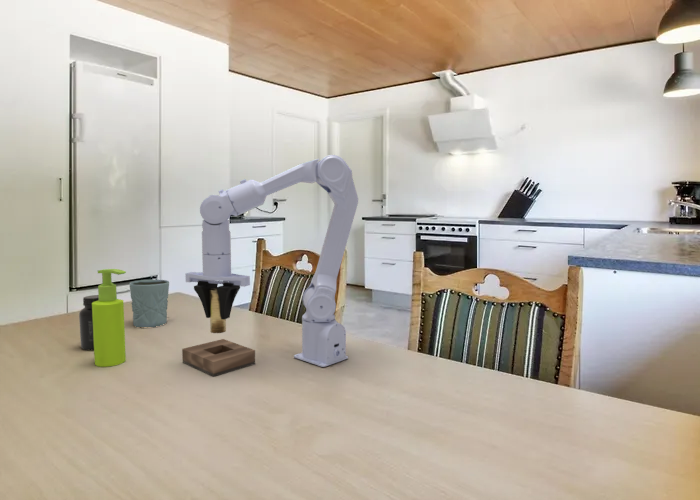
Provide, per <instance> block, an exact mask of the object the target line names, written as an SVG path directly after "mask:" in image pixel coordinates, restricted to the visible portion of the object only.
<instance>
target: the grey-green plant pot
mask: <svg viewBox="0 0 700 500" xmlns="http://www.w3.org/2000/svg"><path fill="white" fill-rule="evenodd" d="M169 288H170V281H169V280H166V279H141V280H135V281H131V282H129V291H130V292H129V293H130V299H131V309H132V310H131V311H132V322H133V327H134V326H136V327H135V328H137V327H153V328H157V327H156V326H159V327H161V326H160V325H162V326H164V325H163V324H165V323H166V324H167V322H168V321H167V320H168V312H167V311H168V303H169V300H168V298H169V291H170V290H169ZM166 324H165V325H166Z"/></svg>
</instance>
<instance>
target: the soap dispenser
mask: <svg viewBox="0 0 700 500" xmlns="http://www.w3.org/2000/svg"><path fill="white" fill-rule="evenodd" d="M126 273H127V271H125V270H123V269H118V268H104V269H100V270H97V274H101V276H102V283H100V284H99V285H98V286H97V289H98V290H97V293H98V294H97V295H98V296H99V300H98V301H95V302H93V303H92V316H93V337H94V350H93V353H94V356H93V360H94V365H95V366H96V367H98V368H99V367H101V368H104V367H105V368H106V367H113V366H118V365H121V364H123V363H125V362H126V360H127V359H126V358H127V357H126V355H127V354H126V334H125V330H126V329H125V308H124V307H125V306H124V305H125V304H124V303H125V302H124V300H123V299H119V298H117V297H118V295H117V284H115V283H114V282H112V274H115V275H117V276H119V275H124V274H126Z"/></svg>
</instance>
